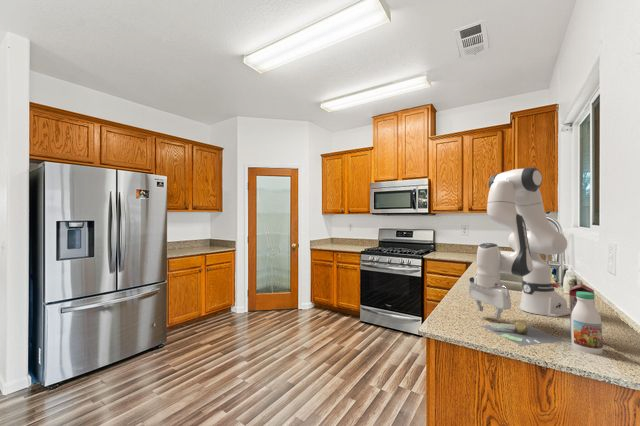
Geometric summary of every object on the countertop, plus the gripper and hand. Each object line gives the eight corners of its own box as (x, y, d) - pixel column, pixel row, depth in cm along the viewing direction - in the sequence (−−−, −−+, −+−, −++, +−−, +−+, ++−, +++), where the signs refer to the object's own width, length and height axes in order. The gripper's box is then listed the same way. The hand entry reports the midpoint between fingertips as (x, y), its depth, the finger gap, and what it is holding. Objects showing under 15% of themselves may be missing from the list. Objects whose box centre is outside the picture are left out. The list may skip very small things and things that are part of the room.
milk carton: (570, 341, 106) (569, 281, 106) (571, 336, 110) (569, 278, 111) (595, 346, 101) (593, 284, 101) (595, 340, 106) (593, 281, 106)
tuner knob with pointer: (525, 330, 112) (524, 320, 112) (529, 334, 108) (528, 324, 108) (489, 327, 116) (489, 317, 116) (492, 331, 112) (492, 320, 112)
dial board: (519, 324, 122) (519, 321, 122) (565, 343, 104) (565, 340, 104) (480, 328, 118) (480, 325, 118) (520, 349, 100) (520, 345, 100)
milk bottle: (565, 347, 101) (564, 290, 101) (585, 346, 101) (584, 289, 102) (588, 358, 93) (586, 296, 93) (609, 356, 94) (607, 295, 94)
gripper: (515, 286, 114) (515, 321, 113) (477, 276, 134) (477, 306, 133) (501, 287, 112) (501, 322, 112) (465, 277, 132) (465, 307, 132)
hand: (488, 313), depth 123 cm, fingers open, 8 cm apart
